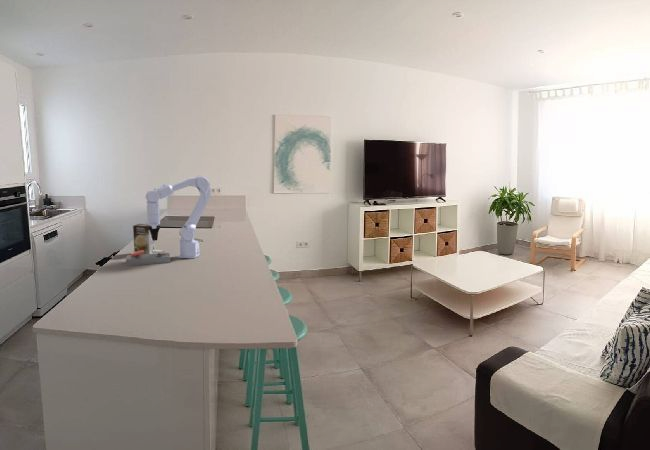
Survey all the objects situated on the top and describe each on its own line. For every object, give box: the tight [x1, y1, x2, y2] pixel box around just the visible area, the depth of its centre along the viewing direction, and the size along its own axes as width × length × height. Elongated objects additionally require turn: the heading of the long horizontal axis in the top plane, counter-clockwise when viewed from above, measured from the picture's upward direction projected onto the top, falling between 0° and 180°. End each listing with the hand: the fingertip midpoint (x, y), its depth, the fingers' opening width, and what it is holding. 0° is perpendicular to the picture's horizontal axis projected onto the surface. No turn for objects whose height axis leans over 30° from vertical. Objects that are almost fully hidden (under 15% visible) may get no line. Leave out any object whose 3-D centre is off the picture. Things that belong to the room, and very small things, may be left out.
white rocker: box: [152, 249, 166, 254], centre depth 206 cm, size 6×3×1 cm, turn 114°
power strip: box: [125, 252, 171, 266], centre depth 203 cm, size 20×9×3 cm, turn 114°
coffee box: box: [132, 223, 156, 255], centre depth 219 cm, size 9×6×16 cm
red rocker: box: [130, 250, 144, 257], centre depth 202 cm, size 6×3×1 cm, turn 113°
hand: (154, 240), depth 207 cm, fingers closed
